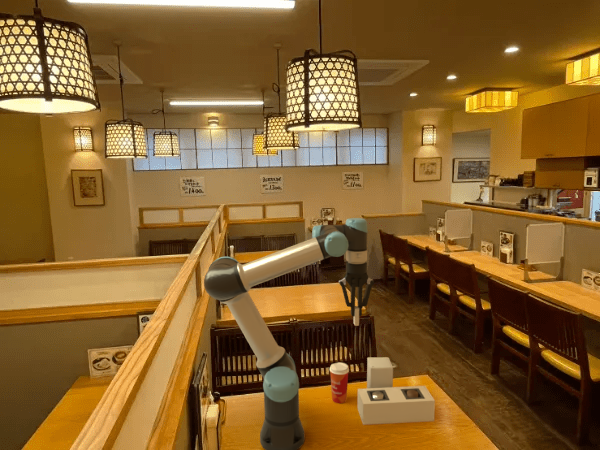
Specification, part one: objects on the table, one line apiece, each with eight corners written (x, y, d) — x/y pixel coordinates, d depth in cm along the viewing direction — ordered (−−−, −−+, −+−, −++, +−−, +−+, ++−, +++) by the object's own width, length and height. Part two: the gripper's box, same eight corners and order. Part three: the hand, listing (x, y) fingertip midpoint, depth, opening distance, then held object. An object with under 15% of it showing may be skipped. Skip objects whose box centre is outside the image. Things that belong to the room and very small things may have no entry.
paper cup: (326, 397, 166) (325, 364, 163) (342, 392, 169) (342, 360, 167) (335, 407, 158) (335, 373, 156) (352, 402, 162) (353, 368, 160)
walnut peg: (408, 415, 152) (408, 396, 150) (405, 409, 155) (405, 390, 154) (419, 414, 152) (419, 395, 151) (415, 408, 156) (416, 389, 155)
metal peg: (373, 417, 151) (373, 397, 150) (371, 410, 155) (371, 391, 154) (384, 416, 151) (384, 397, 150) (381, 410, 155) (381, 391, 154)
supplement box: (393, 403, 160) (393, 367, 158) (369, 403, 160) (370, 367, 158) (388, 391, 169) (389, 356, 167) (366, 391, 169) (366, 356, 167)
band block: (363, 424, 148) (363, 404, 146) (357, 408, 158) (357, 388, 156) (434, 421, 149) (434, 400, 148) (424, 405, 159) (424, 385, 158)
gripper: (340, 264, 143) (340, 329, 147) (377, 263, 144) (376, 327, 148) (336, 259, 151) (337, 321, 154) (372, 258, 151) (371, 319, 155)
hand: (356, 324), depth 151 cm, fingers closed
